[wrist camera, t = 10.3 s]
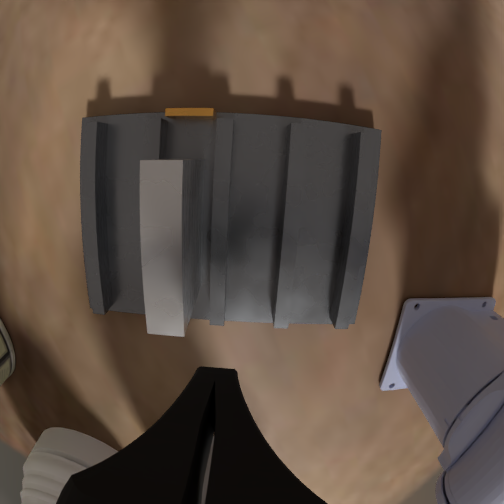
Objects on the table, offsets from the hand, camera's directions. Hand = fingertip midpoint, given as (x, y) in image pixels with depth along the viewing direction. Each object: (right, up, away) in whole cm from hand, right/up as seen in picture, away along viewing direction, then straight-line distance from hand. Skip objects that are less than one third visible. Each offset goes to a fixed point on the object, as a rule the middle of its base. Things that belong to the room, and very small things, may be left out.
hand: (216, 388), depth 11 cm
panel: (-2, +7, +7) cm, 10 cm away
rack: (0, +7, +8) cm, 10 cm away
